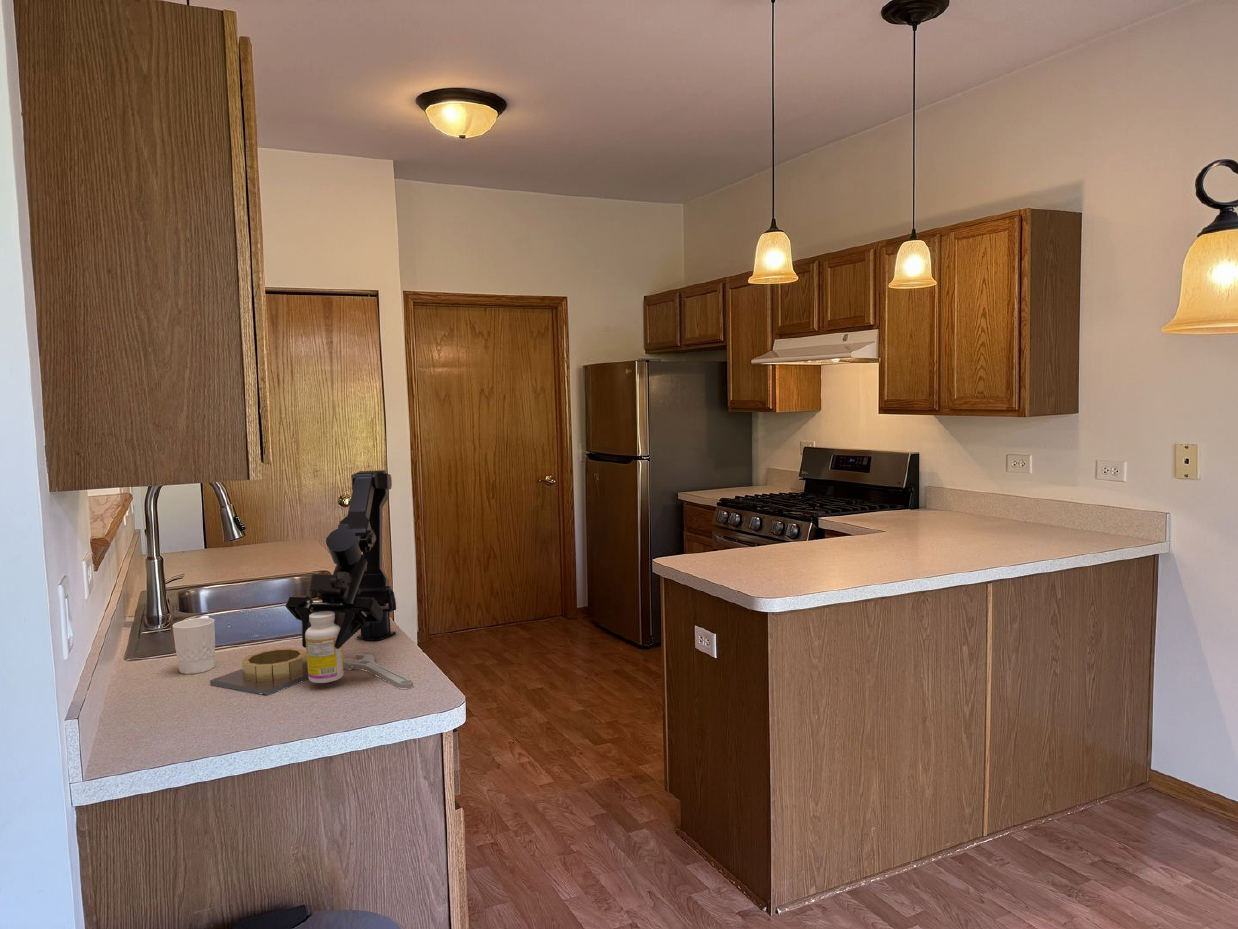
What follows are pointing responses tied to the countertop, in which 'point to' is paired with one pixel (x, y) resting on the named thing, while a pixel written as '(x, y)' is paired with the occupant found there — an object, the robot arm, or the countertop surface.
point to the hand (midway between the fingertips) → (320, 647)
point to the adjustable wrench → (377, 670)
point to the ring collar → (267, 671)
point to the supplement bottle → (323, 648)
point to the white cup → (195, 645)
